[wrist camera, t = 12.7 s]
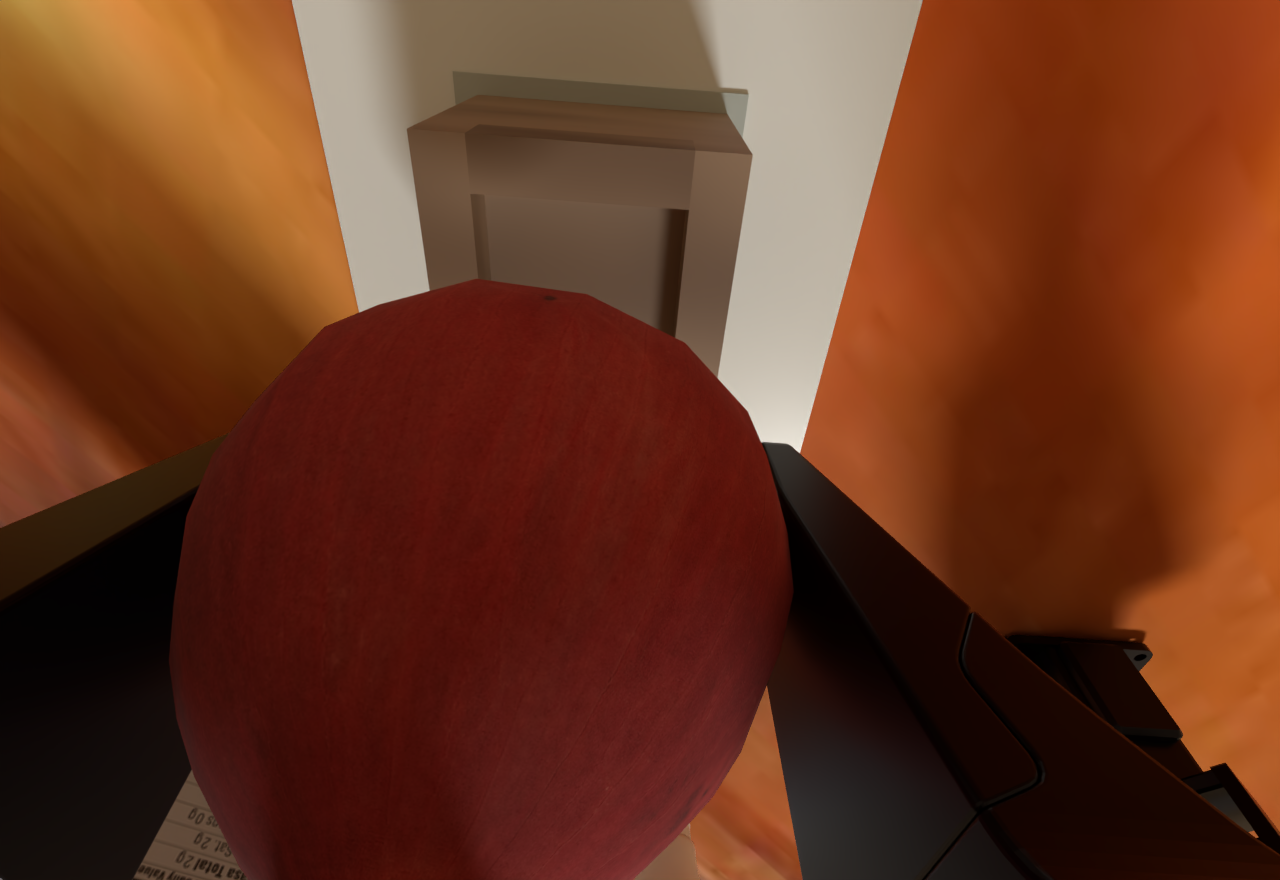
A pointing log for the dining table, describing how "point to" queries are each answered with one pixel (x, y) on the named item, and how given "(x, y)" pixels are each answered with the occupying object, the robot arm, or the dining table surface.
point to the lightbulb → (674, 861)
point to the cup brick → (588, 206)
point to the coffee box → (189, 843)
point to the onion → (477, 596)
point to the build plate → (638, 77)
